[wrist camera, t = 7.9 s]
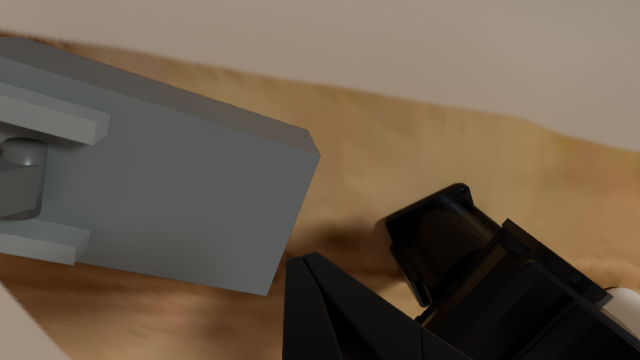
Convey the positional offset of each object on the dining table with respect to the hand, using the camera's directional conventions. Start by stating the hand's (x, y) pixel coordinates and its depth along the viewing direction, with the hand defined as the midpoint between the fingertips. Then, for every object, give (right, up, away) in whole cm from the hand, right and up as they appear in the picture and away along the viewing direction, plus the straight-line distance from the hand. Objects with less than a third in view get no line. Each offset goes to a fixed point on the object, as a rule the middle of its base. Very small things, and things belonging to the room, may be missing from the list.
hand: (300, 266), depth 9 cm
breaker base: (-9, +3, +12) cm, 16 cm away
